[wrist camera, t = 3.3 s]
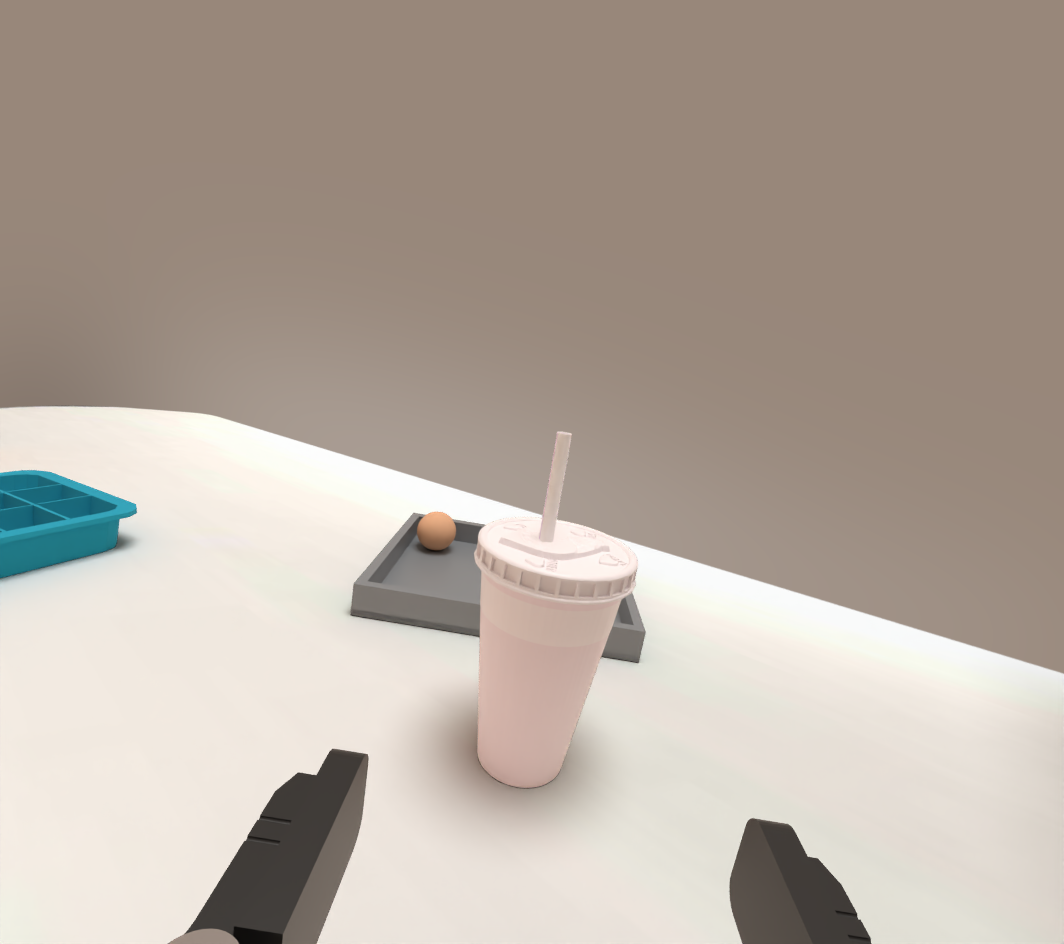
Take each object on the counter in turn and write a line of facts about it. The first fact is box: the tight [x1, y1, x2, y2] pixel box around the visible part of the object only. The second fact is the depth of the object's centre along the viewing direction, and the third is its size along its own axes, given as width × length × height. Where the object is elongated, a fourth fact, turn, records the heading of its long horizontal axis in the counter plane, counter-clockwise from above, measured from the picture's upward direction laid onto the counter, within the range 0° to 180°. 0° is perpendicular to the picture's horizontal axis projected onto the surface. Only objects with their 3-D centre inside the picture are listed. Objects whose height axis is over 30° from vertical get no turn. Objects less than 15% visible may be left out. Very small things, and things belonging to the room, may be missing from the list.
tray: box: [351, 513, 645, 662], centre depth 39 cm, size 17×14×2 cm
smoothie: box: [474, 432, 638, 788], centre depth 22 cm, size 6×6×14 cm
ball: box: [417, 512, 456, 550], centre depth 42 cm, size 3×3×3 cm
